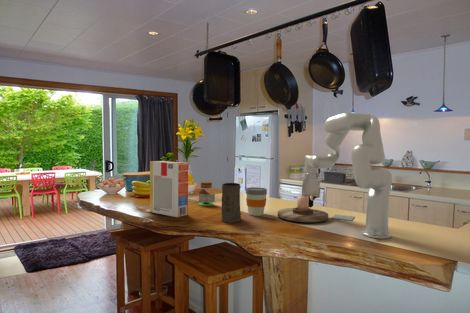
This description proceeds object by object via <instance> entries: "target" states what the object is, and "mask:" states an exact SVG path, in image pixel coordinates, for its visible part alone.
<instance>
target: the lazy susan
mask: <svg viewBox="0 0 470 313" xmlns="http://www.w3.org/2000/svg"><path fill="white" fill-rule="evenodd" d="M277 217H278V218H280V219H282V220H287V221H291V222H297V223H298V222H299V223H319V222H320V223H321V222H325V221H327V220H329V213H328V212H326V211H323V210H321V209H314V208H311V207H309V211H299V210H297V207H288V208H281V209H278V210H277Z"/></svg>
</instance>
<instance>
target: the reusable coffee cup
mask: <svg viewBox="0 0 470 313" xmlns="http://www.w3.org/2000/svg"><path fill="white" fill-rule="evenodd" d="M267 191H268V189H267V188H265V187H258V186H257V187H253V186H252V187H246V188H245V194H246V198H245V202H246V206H247V214H248V215H250V216H254V217H255V216H256V217H258V216H263V215H264V213H265V207H266V204H267V194H268V192H267Z"/></svg>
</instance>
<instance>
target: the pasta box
mask: <svg viewBox="0 0 470 313" xmlns="http://www.w3.org/2000/svg"><path fill="white" fill-rule="evenodd" d="M188 208H189V162H182V161H181V162H180V161H168V160H167V161H166V160H156V161H155V160H152V161H151V160H150V161H149V213H154V214H159V215H164V216H167V217H175V218H180V217H186V216H188V215H189V209H188Z"/></svg>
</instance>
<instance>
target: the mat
mask: <svg viewBox="0 0 470 313" xmlns="http://www.w3.org/2000/svg"><path fill="white" fill-rule="evenodd" d="M330 218H331V219H333V220H339V221H350V222H352V221H353V220H354V219H355V216H352V215H344V214H334V215H333V216H331V217H330Z"/></svg>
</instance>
